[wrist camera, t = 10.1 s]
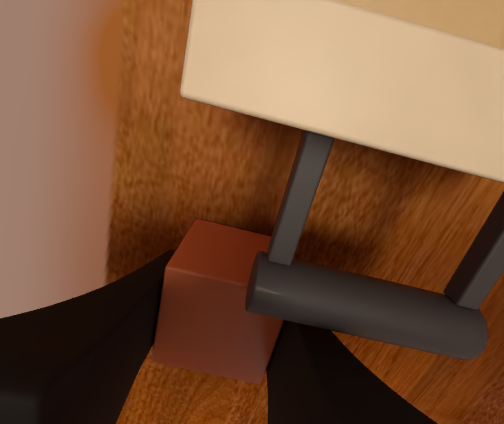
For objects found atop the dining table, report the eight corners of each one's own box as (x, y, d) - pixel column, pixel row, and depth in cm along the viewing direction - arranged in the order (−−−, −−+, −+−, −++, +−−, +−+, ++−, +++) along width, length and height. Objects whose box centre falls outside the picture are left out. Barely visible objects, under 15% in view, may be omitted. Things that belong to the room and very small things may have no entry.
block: (261, 308, 13) (260, 385, 9) (182, 290, 13) (149, 362, 9) (283, 238, 12) (294, 296, 8) (196, 217, 12) (164, 266, 8)
